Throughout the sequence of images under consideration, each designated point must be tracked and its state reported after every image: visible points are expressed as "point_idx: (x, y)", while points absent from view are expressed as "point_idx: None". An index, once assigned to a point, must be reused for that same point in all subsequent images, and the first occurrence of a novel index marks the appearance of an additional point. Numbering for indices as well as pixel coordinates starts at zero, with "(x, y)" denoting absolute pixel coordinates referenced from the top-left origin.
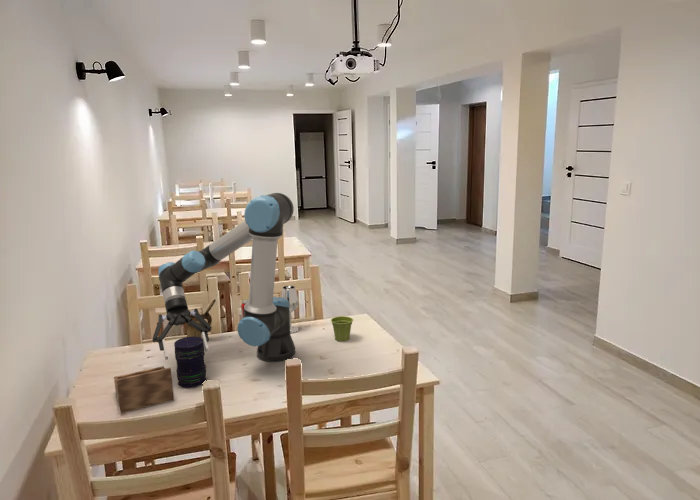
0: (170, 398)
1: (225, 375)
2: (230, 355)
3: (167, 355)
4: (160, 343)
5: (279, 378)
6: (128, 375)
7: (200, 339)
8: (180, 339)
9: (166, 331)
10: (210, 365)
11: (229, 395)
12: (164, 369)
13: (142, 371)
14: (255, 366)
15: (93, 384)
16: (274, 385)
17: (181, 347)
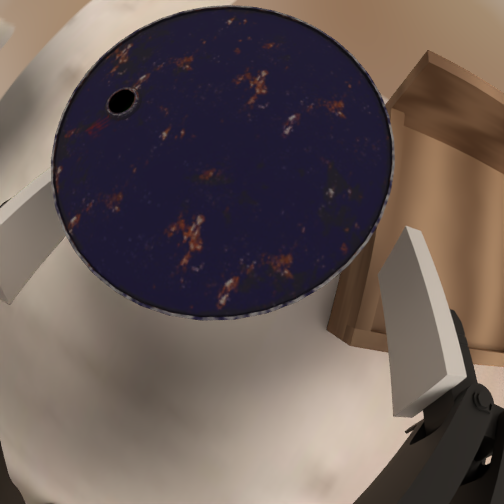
0: None
1: None
2: (6, 339)
3: (410, 231)
4: (463, 360)
5: (37, 55)
6: (491, 351)
7: (83, 116)
8: (251, 303)
9: (416, 486)
10: (92, 321)
11: None
12: (457, 68)
13: None
14: (5, 172)
15: None
16: (75, 26)
17: (352, 56)
